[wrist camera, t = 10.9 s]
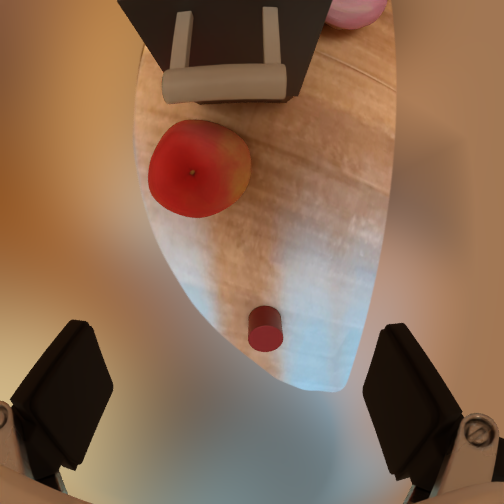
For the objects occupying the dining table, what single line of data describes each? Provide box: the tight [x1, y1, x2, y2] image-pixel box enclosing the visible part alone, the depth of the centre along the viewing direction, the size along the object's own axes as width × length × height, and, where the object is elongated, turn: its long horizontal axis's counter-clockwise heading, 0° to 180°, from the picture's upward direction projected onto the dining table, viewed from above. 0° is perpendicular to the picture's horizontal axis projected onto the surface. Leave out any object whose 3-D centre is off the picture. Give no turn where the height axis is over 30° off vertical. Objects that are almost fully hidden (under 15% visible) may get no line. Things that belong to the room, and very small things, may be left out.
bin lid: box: [117, 0, 333, 104], centre depth 15 cm, size 13×10×6 cm
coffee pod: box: [248, 306, 283, 352], centre depth 38 cm, size 4×4×4 cm
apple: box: [148, 120, 251, 218], centre depth 28 cm, size 10×10×10 cm
